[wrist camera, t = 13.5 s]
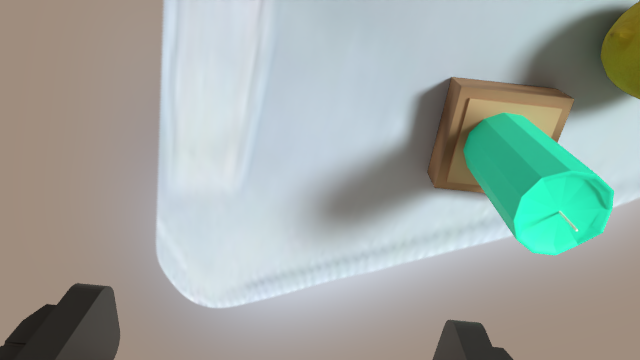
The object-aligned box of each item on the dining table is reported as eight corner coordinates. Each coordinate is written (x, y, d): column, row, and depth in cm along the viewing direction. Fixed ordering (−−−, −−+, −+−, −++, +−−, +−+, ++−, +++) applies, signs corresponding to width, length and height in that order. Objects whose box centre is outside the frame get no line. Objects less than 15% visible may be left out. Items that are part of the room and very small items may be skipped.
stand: (451, 76, 35) (462, 87, 32) (556, 88, 35) (576, 100, 33) (427, 172, 39) (435, 188, 36) (521, 182, 40) (536, 199, 37)
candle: (461, 182, 36) (517, 274, 25) (465, 115, 33) (529, 189, 23) (532, 176, 36) (619, 268, 25) (542, 108, 33) (645, 179, 22)
